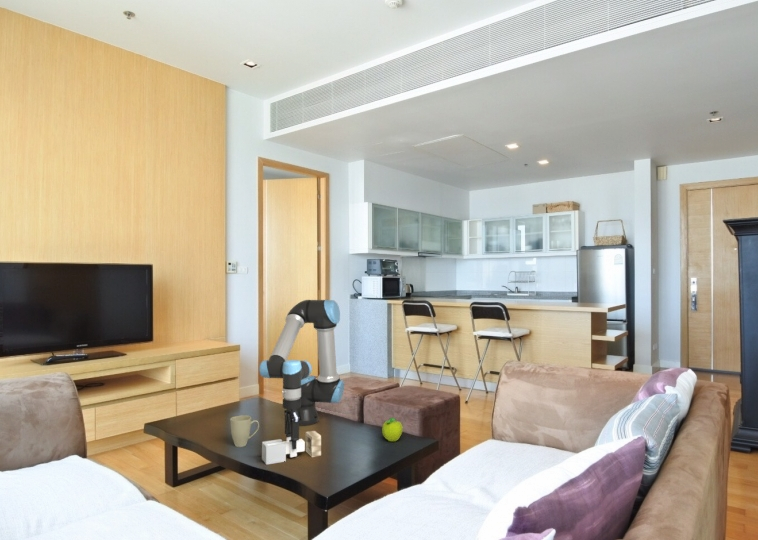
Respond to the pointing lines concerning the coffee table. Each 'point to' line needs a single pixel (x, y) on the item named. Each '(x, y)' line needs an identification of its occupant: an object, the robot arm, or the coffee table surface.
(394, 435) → the fruit
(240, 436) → the mug
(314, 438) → the beige block
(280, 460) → the sleeve
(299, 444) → the blue-banded white bar
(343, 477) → the coffee table surface
